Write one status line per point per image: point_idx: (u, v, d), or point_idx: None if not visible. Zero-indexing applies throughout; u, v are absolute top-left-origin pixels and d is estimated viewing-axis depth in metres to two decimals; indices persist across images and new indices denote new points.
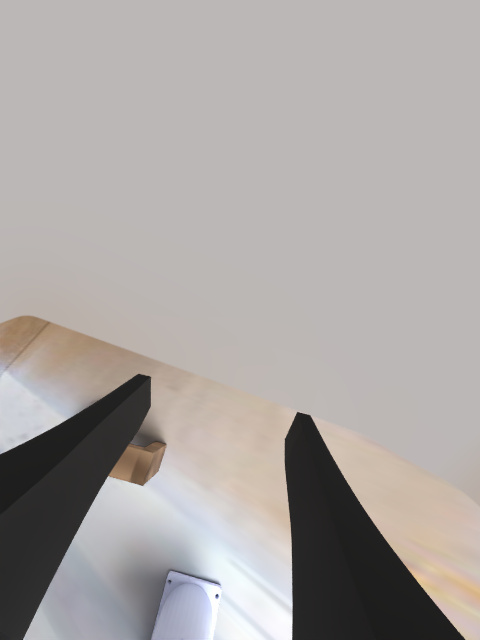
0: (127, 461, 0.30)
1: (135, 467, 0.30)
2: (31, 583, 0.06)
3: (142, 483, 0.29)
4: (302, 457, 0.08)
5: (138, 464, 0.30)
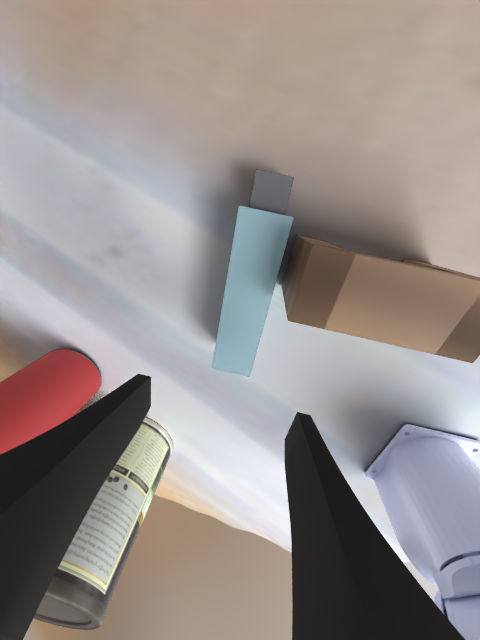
0: (437, 312, 0.10)
1: (460, 326, 0.10)
2: (31, 583, 0.06)
3: (472, 358, 0.11)
4: (303, 457, 0.08)
5: (471, 320, 0.10)
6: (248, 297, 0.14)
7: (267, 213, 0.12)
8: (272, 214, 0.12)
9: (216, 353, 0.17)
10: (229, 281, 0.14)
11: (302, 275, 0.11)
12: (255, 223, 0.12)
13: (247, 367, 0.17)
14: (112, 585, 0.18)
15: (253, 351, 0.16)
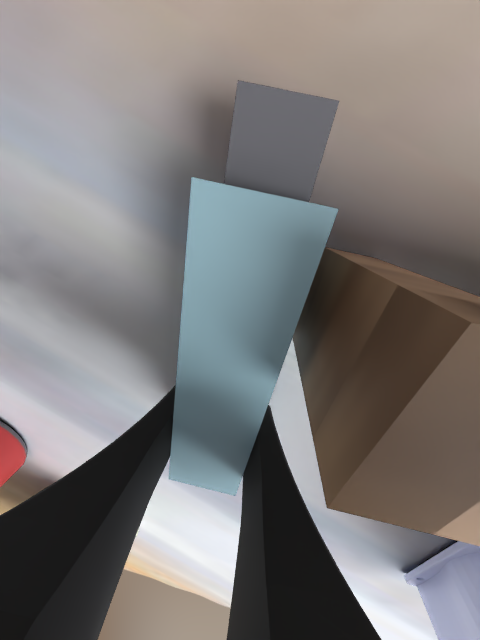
0: None
1: None
2: (101, 602, 0.06)
3: None
4: (254, 445, 0.08)
5: None
6: (227, 380, 0.07)
7: (267, 198, 0.05)
8: (281, 201, 0.05)
9: (174, 461, 0.09)
10: (185, 349, 0.07)
11: (391, 410, 0.03)
12: (237, 225, 0.05)
13: (231, 484, 0.09)
14: None
15: (240, 463, 0.09)
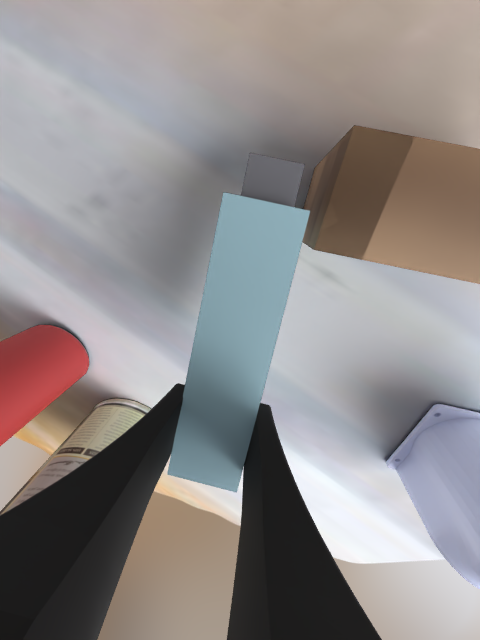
0: None
1: None
2: (100, 602, 0.06)
3: None
4: (254, 445, 0.08)
5: None
6: (236, 342, 0.08)
7: (268, 204, 0.08)
8: (276, 206, 0.08)
9: (177, 445, 0.09)
10: (204, 313, 0.08)
11: (336, 179, 0.08)
12: (249, 219, 0.08)
13: (233, 473, 0.09)
14: None
15: (243, 441, 0.09)
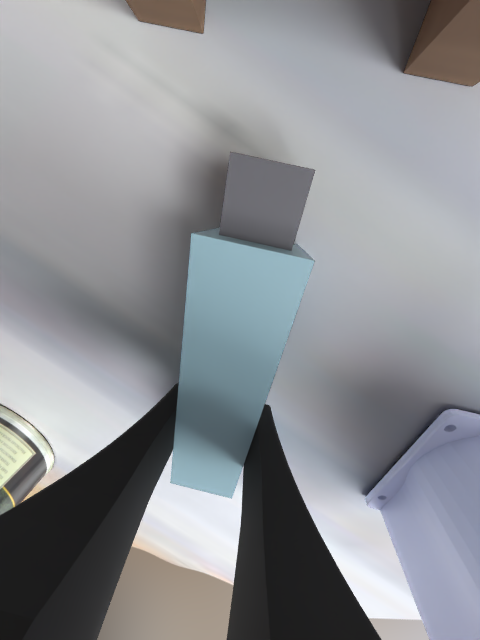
0: None
1: None
2: (100, 602, 0.06)
3: None
4: (254, 445, 0.08)
5: None
6: (223, 397, 0.08)
7: (255, 251, 0.05)
8: (266, 253, 0.05)
9: (175, 466, 0.10)
10: (185, 370, 0.07)
11: None
12: (230, 271, 0.06)
13: (227, 487, 0.10)
14: None
15: (236, 469, 0.10)
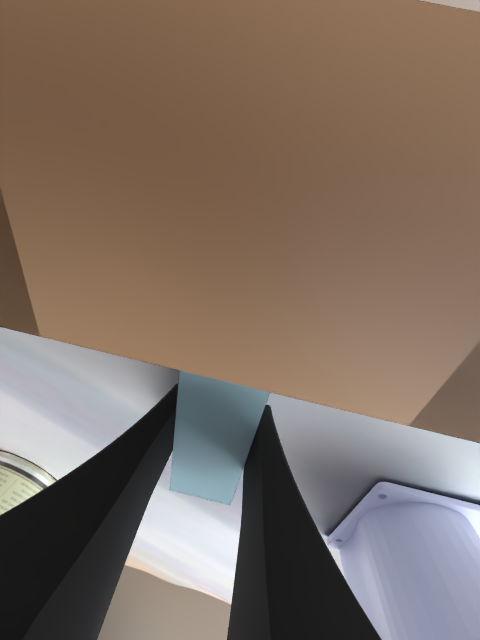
0: (409, 268, 0.02)
1: None
2: (100, 602, 0.06)
3: None
4: (254, 445, 0.08)
5: None
6: (221, 407, 0.08)
7: None
8: None
9: (174, 474, 0.10)
10: (184, 382, 0.08)
11: None
12: None
13: (226, 494, 0.10)
14: None
15: (234, 477, 0.10)
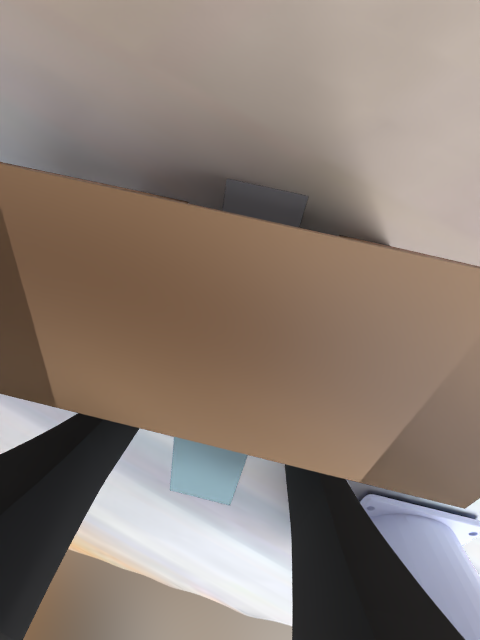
0: (344, 380, 0.03)
1: (422, 422, 0.03)
2: (31, 583, 0.06)
3: (463, 498, 0.04)
4: None
5: (460, 407, 0.03)
6: None
7: None
8: None
9: (174, 474, 0.10)
10: None
11: None
12: None
13: (225, 495, 0.10)
14: None
15: (233, 477, 0.10)
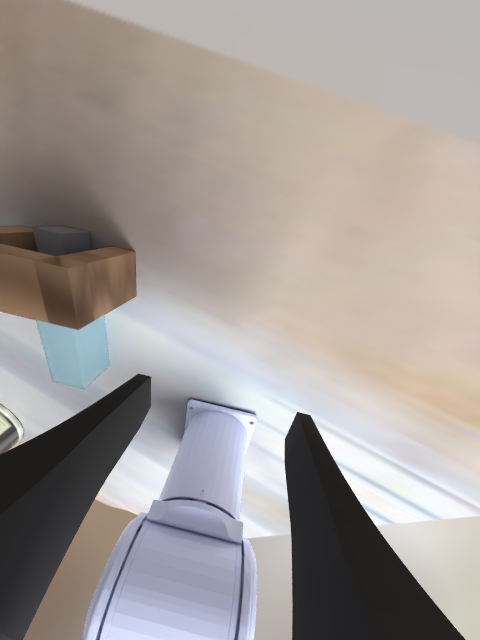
0: (21, 286, 0.13)
1: (45, 298, 0.13)
2: (31, 583, 0.06)
3: (76, 326, 0.13)
4: (303, 457, 0.08)
5: (47, 292, 0.13)
6: (56, 325, 0.17)
7: None
8: None
9: (51, 369, 0.20)
10: None
11: None
12: None
13: (79, 381, 0.20)
14: None
15: (77, 368, 0.19)
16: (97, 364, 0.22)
